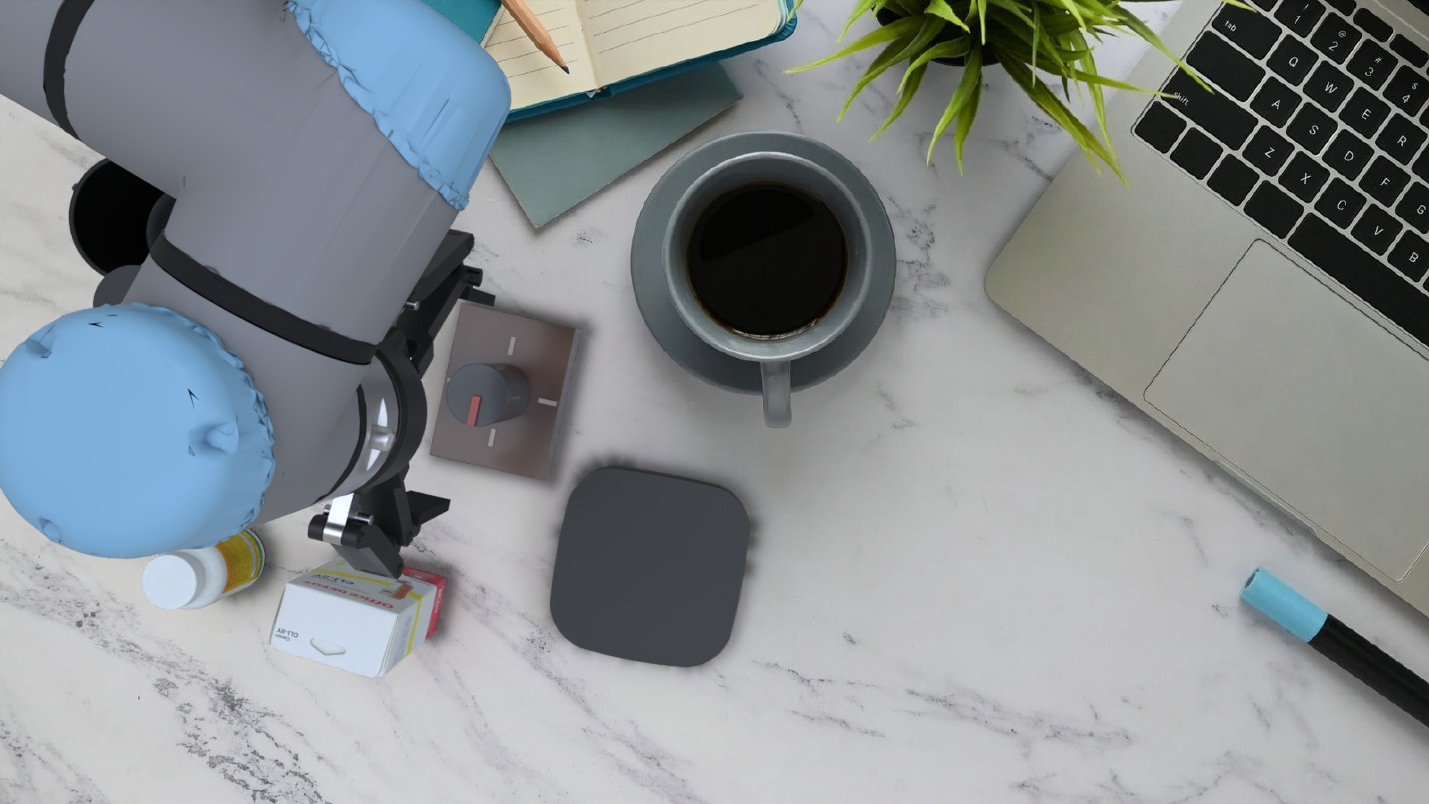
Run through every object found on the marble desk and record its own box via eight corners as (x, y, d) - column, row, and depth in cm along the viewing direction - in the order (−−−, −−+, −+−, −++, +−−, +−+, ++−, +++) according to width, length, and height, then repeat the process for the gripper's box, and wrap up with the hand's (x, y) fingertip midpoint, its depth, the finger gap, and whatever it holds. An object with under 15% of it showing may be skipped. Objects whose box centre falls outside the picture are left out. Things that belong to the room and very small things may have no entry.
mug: (140, 142, 78) (64, 114, 69) (278, 204, 78) (220, 184, 69) (95, 251, 79) (13, 237, 70) (232, 313, 79) (168, 306, 70)
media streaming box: (757, 489, 79) (759, 494, 76) (724, 667, 80) (724, 678, 77) (578, 456, 79) (572, 460, 76) (546, 634, 80) (539, 644, 77)
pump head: (125, 260, 54) (101, 256, 52) (203, 278, 54) (182, 274, 52) (100, 385, 55) (75, 385, 52) (178, 402, 55) (156, 404, 52)
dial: (480, 357, 76) (452, 357, 68) (536, 370, 76) (514, 371, 68) (468, 413, 76) (438, 419, 68) (524, 426, 76) (500, 433, 68)
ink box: (450, 576, 79) (402, 614, 68) (434, 635, 80) (383, 682, 68) (348, 548, 79) (281, 580, 68) (332, 606, 80) (264, 649, 68)
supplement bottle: (233, 602, 80) (166, 636, 70) (187, 554, 80) (114, 581, 70) (281, 557, 80) (220, 584, 70) (235, 509, 79) (168, 530, 70)
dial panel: (471, 304, 79) (460, 302, 75) (581, 329, 79) (575, 328, 75) (440, 451, 79) (428, 455, 76) (549, 475, 79) (542, 480, 76)
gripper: (341, 709, 43) (466, 597, 64) (463, 150, 42) (550, 223, 64) (175, 671, 43) (355, 571, 64) (293, 111, 42) (436, 197, 64)
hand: (452, 398), depth 64 cm, fingers open, 13 cm apart
